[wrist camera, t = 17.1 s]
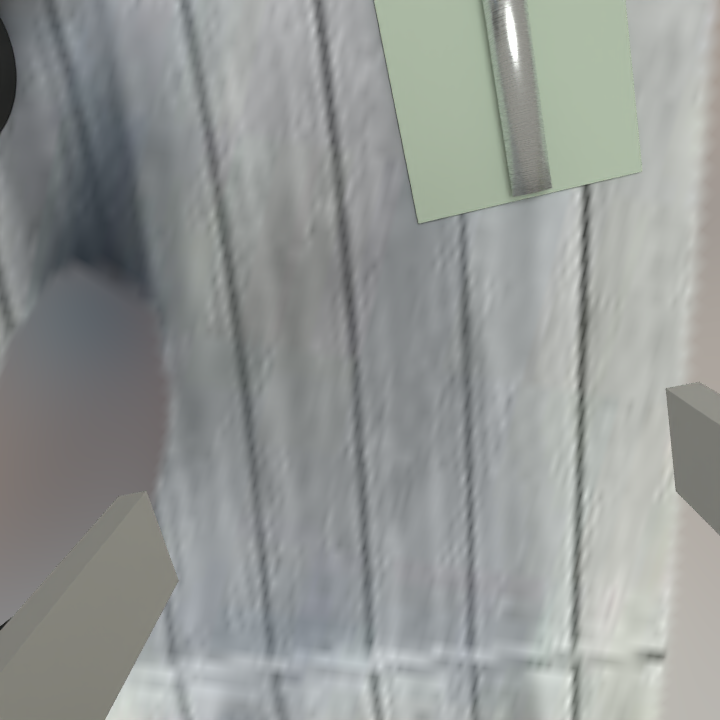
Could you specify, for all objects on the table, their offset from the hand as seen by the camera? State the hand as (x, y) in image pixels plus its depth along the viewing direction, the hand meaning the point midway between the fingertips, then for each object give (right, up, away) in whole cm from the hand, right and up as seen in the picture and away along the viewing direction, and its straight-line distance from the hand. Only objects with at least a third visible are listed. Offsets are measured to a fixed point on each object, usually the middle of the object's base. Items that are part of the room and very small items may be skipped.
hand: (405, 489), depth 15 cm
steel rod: (+10, +28, +29) cm, 42 cm away
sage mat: (+9, +30, +29) cm, 43 cm away
